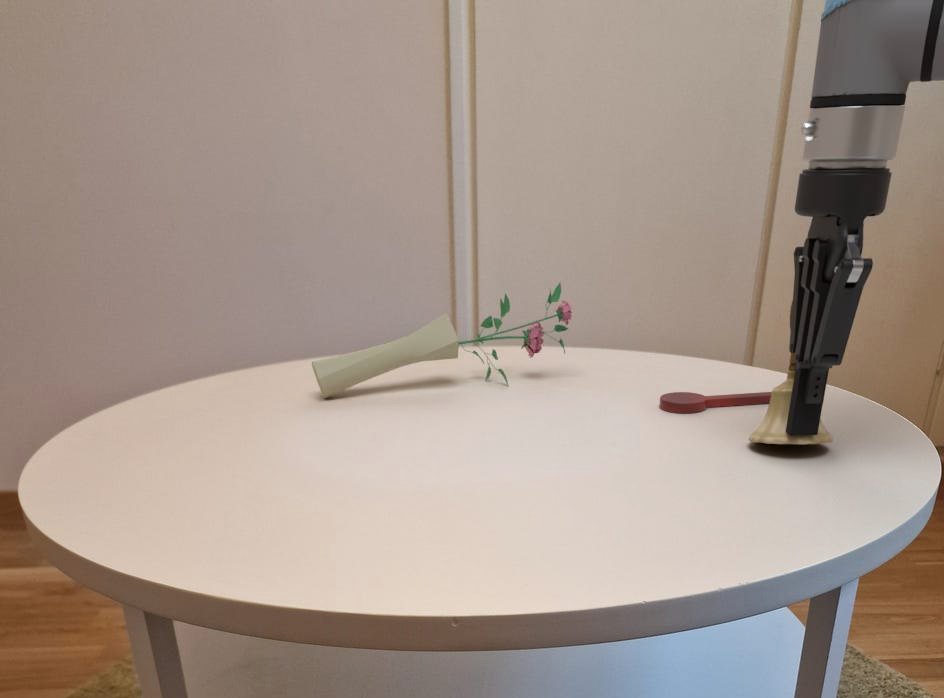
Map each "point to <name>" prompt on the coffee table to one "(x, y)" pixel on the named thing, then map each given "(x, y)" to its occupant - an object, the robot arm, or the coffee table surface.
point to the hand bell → (785, 416)
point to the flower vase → (426, 349)
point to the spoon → (708, 401)
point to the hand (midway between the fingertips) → (801, 433)
